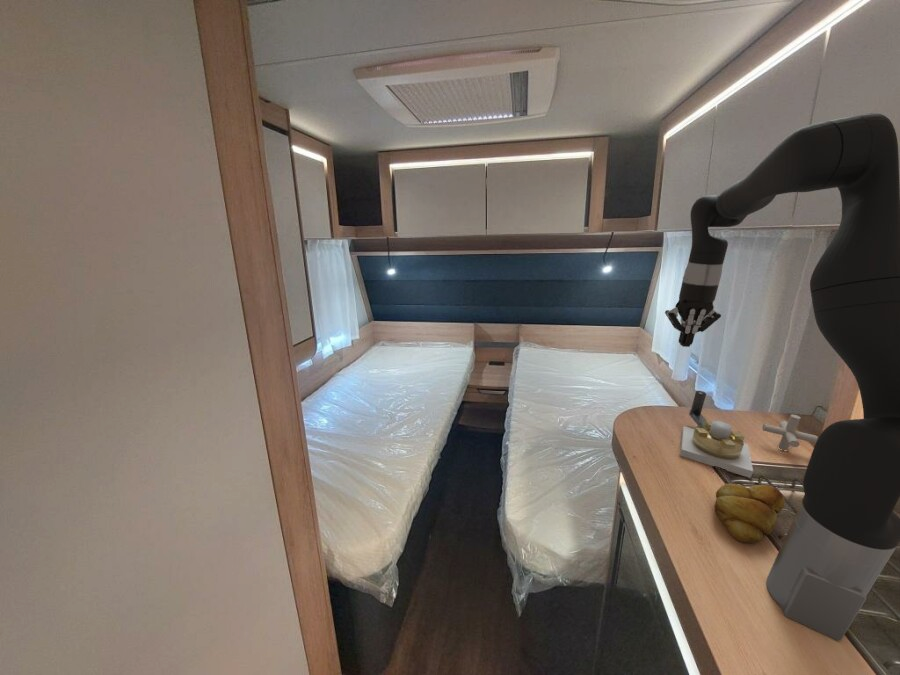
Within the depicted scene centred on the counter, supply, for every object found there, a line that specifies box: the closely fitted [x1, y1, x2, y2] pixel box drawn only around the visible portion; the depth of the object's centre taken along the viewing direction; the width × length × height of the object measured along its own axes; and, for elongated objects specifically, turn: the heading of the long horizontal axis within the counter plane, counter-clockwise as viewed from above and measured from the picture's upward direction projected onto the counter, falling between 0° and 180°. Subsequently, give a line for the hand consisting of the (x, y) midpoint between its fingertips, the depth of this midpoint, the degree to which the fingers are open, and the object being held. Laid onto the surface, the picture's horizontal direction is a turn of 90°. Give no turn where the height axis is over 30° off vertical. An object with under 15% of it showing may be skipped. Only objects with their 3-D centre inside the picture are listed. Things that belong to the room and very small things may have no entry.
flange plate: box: [679, 420, 754, 479], centre depth 87 cm, size 12×14×8 cm
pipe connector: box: [762, 414, 819, 451], centre depth 88 cm, size 10×10×10 cm
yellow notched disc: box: [688, 390, 745, 459], centre depth 90 cm, size 18×10×9 cm, turn 169°
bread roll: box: [714, 483, 786, 544], centre depth 67 cm, size 13×10×8 cm
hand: (684, 345), depth 92 cm, fingers closed
